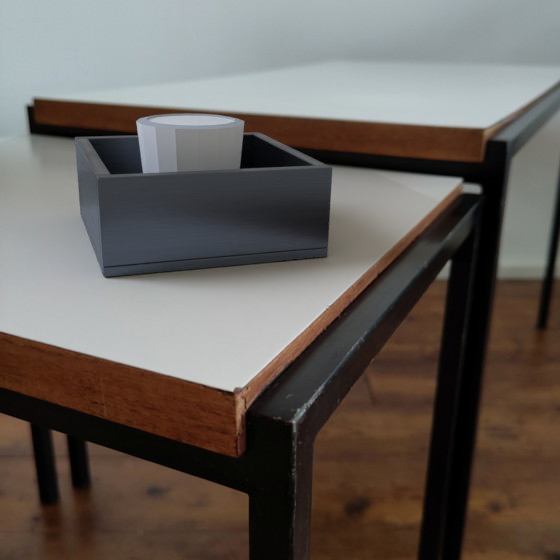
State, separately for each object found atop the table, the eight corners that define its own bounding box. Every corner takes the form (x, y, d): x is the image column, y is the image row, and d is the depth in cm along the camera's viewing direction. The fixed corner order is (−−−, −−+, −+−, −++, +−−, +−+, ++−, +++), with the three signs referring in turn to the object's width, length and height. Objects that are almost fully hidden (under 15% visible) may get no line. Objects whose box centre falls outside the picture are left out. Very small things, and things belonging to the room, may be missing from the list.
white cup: (159, 209, 50) (156, 110, 48) (253, 215, 49) (254, 115, 47) (125, 235, 44) (119, 123, 42) (231, 244, 43) (231, 129, 41)
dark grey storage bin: (80, 214, 51) (74, 136, 49) (258, 203, 55) (259, 132, 53) (103, 277, 39) (97, 178, 37) (327, 257, 43) (333, 167, 41)
